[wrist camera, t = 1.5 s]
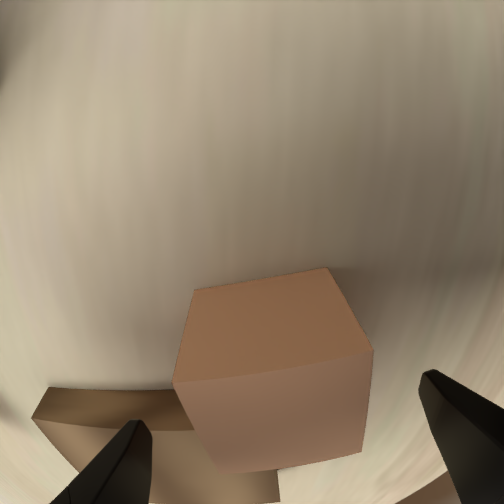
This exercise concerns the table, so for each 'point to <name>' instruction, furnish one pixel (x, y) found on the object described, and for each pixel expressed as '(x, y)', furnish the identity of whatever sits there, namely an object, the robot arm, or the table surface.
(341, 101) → the table surface
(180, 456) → the walnut slab
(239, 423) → the terracotta cube
